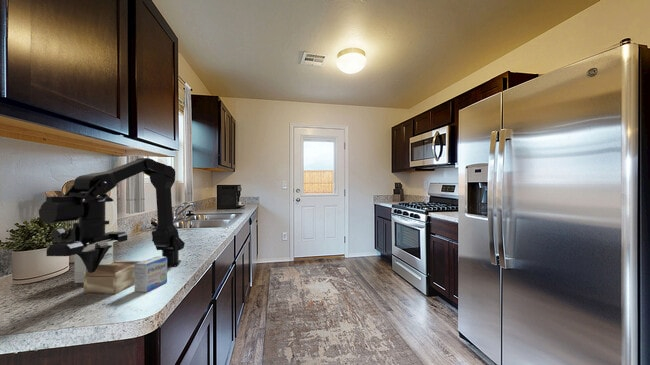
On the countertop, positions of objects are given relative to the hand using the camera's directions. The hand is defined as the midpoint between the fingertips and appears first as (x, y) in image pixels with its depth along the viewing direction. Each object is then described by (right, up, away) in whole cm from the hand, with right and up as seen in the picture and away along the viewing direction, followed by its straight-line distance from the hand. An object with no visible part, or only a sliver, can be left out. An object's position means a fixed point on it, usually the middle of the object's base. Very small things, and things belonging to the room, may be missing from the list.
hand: (91, 272), depth 72 cm
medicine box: (+12, -8, +7) cm, 16 cm away
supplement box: (-12, -8, +14) cm, 20 cm away
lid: (0, -2, +7) cm, 8 cm away
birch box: (0, -7, +8) cm, 11 cm away
